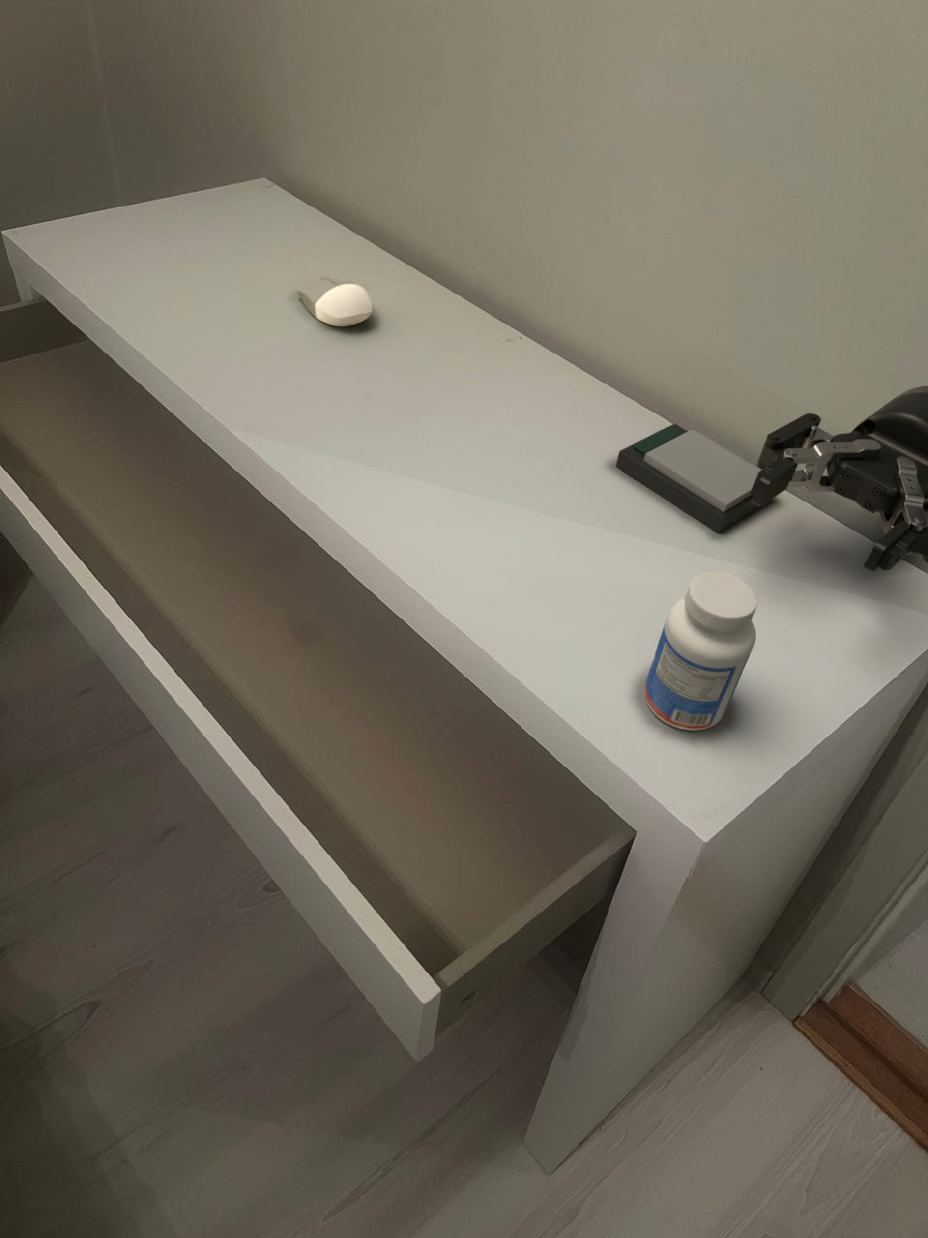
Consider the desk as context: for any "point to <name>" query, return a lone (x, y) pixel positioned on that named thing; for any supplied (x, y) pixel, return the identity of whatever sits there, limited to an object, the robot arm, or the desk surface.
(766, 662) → the desk surface
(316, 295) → the computer mouse
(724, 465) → the scale
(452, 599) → the desk surface
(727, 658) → the pill bottle
